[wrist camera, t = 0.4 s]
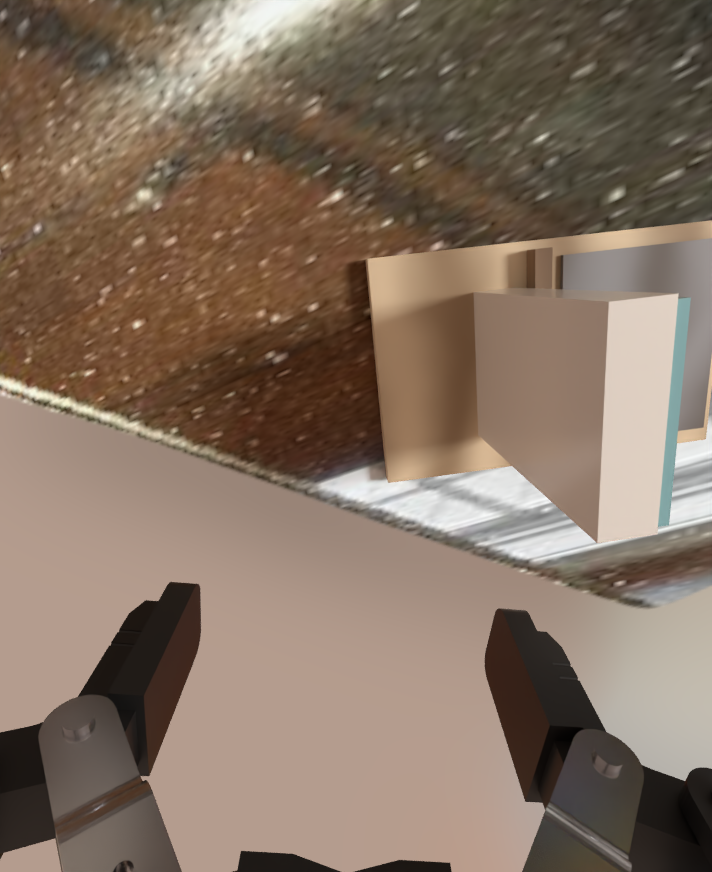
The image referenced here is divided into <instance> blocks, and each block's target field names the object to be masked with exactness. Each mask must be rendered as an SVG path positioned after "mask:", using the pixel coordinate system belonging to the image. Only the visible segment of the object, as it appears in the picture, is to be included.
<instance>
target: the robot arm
mask: <svg viewBox="0 0 712 872" xmlns="http://www.w3.org/2000/svg"><path fill="white" fill-rule="evenodd" d="M200 610H201V608H200V586H199V584H190V583H177V582H170V583H169V584H168V585H167V587H166V589H165V590H164V592H163V594H162V596H161V598H160V600H159V601H147V600H146V601H144V602H143V603H142V604H141V605H139V606H138V607H137V608H136V609H134V610H133V611H132V612H131V613H129V615H128V616H127V618H126V620H125V621H124V623H123V624H122V626H121V628H120V630H119V632H118V633H117V634H116V636H115V638H114V639H113V641H112V642H111V646H109V647H108V649H107V650H106V652H105V654H104V655H103V657H102V658H101V660H100V662H99V663H98V665H97V667H96V668H95V670H94V671H93V673H92V675H91V676H90V678H89V680H88V682H87V683H86V684H85V686H84V688H83V690H82V691H81V693H80V694H79V696H78V697H76V698H74V699H71V700H69V701H67V702H65V703H63V704H61V705H60V706H59V707H57V708H56V709H54V710H53V711H52V712H51V713H50V714H49V715H48V716H47V718H46V719H45V720H44V722H42V723H40V724H37V725H33V726H29V727H25V728H20V729H15V730H10V731H5V732H1V733H0V859H1V857H2V855H3V853H4V852H8V851H12V850H15V849H19V848H22V847H26V846H29V845H33V844H36V843H40V842H44V841H47V840H51V839H54V838H55V839H56V844H57V849H58V855H59V860H60V865H61V871H62V872H182V871H181V868H180V866H179V863H178V860H177V857H176V855H175V852H174V849H173V846H172V844H171V841H170V838H169V836H168V833H167V830H166V827H165V825H164V822H163V819H162V817H161V814H160V811H159V808H158V805H157V803H156V800H155V797H154V795H153V792H152V790H151V787H150V785H149V783H148V782H147V781H146V780H145V781H142V779H141V777H140V776H149V775H150V773H151V770H152V768H153V765H154V762H155V760H156V757H157V755H158V752H159V750H160V747H161V744H162V742H163V739H164V737H165V734H166V732H167V729H168V726H169V724H170V721H171V719H172V716H173V714H174V711H175V708H176V706H177V703H178V701H179V698H180V696H181V693H182V690H183V688H184V685H185V683H186V680H187V678H188V675H189V672H190V670H191V667H192V665H193V662H194V659H195V657H196V654H197V651H198V646H199V641H200V633H201V611H200ZM485 671H486V677H487V680H488V683H489V687H490V690H491V693H492V696H493V699H494V703H495V706H496V709H497V712H498V715H499V718H500V722H501V725H502V728H503V731H504V735H505V738H506V741H507V744H508V747H509V751H510V754H511V757H512V760H513V763H514V767H515V770H516V773H517V776H518V779H519V783H520V786H521V789H522V792H523V795H524V799H525V801H526V802H541V803H543V805H544V808H545V813H544V816H543V819H542V821H541V824H540V826H539V829H538V832H537V835H536V837H535V839H534V842H533V845H532V847H531V850H530V853H529V855H528V858H527V861H526V863H525V866H524V868H523V871H522V872H712V769H709V768H696V769H694V770H692V771H691V772H690V773H689V775H688V777H687V779H686V781H683V780H680V779H677V778H675V777H672V776H669V775H666V774H663V773H661V772H658V771H655V770H652V769H650V768H647V767H645V766H643V765H641V763H640V761H639V759H638V758H637V756H636V755H635V754H634V752H633V751H632V750H631V749H630V748H629V747H628V746H627V745H626V744H625V743H623V742H622V741H621V740H619V739H618V738H616V737H615V736H613V735H611V734H609V733H607V732H606V731H605V728H604V727H603V725H602V723H601V721H600V719H599V717H598V715H597V714H596V711H595V709H594V708H593V706H592V704H591V702H590V700H589V698H588V696H587V694H586V692H585V690H584V688H583V687H582V685H581V683H580V681H578V677H577V675H576V673H575V671H574V670H573V668H572V667H571V666H570V662H569V660H568V658H567V656H566V654H565V652H564V650H563V649H562V647H561V646H560V645H559V644H558V643H557V642H556V641H555V640H554V639H553V638H552V637H551V636H550V635H549V634H548V633H547V632H540V631H537V630H536V628H535V626H534V623H533V621H532V620H531V617H530V615H529V613H528V612H527V611H524V610H512V609H497V610H496V612H495V616H494V620H493V624H492V628H491V632H490V636H489V640H488V644H487V648H486V653H485ZM233 872H340V871H337V870H335V869H332V868H329V867H327V866H324V865H321V864H319V863H316V862H313V861H310V860H308V859H305V858H302V857H300V856H297V855H294V854H285V853H267V852H250V851H241V854H240V860H239V865H238V870H237V871H233ZM355 872H451V867H450V863H442V862H424V861H407V860H398V861H394V862H390V863H386V864H382V865H378V866H375V867H371V868H367V869H363V870H360V871H355Z"/></svg>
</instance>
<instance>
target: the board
mask: <svg viewBox="0 0 712 872" xmlns="http://www.w3.org/2000/svg"><path fill="white" fill-rule="evenodd" d="M366 271H367V281H368V292H369V302H370V312H371V323H372V333H373V344H374V354H375V365H376V375H377V385H378V396H379V406H380V417H381V427H382V438H383V448H384V458H385V469H386V478H387V480H388V483H391V482H398V481H405V480H413V479H420V478H427V477H435V476H442V475H449V474H456V473H464V472H471V471H478V470H486V469H493V468H500V467H507V466H512V465H511V464H510V463H508V462H507V461H506V460H505V459H504V458H503V457H502V456H501V455H500V454H498V453H497V452H496V451H495V450H494V449H493V448H492V447H491V446H490V445H489V444H487V443H486V442H485V441H484V440H483V439H482V438H481V437H480V436H479V435H478V413H477V383H476V353H475V323H474V293H473V292H479V291H488V290H497V289H505V288H537V289H566V290H594V291H623V292H651V293H679V295H678V297H691V301H690V312H689V322H688V332H687V343H686V353H685V363H684V374H683V384H682V394H681V405H680V415H679V425H678V436H677V443H682V442H690V441H697V440H704V439H706V432H707V423H708V414H709V406H710V397H711V388H712V221H703V222H694V223H685V224H676V225H667V226H658V227H649V228H640V229H631V230H622V231H613V232H604V233H595V234H586V235H577V236H568V237H559V238H550V239H541V240H532V241H523V242H514V243H505V244H496V245H487V246H478V247H469V248H460V249H451V250H443V251H434V252H425V253H416V254H407V255H398V256H389V257H380V258H371V259H366Z"/></svg>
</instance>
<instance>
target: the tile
mask: <svg viewBox="0 0 712 872" xmlns="http://www.w3.org/2000/svg"><path fill="white" fill-rule="evenodd" d="M473 293H474V323H475V353H476V383H477V413H478V435H479V436H480V437H481V438H482V439H483V440H484V441H485V442H486V443H487V444H489V445H490V446H491V447H492V448H493V449H494V450H495V451H496V452H497V453H498V454H500V455H501V456H502V457H503V458H504V459H505V460H506V461H507V462H508V463H510V464H511V465H512V466H513V467H514V468H515V469H516V470H517V471H518V472H519V473H521V474H522V475H523V476H524V477H525V478H526V479H527V480H528V481H529V482H530V483H532V484H533V485H534V486H535V487H536V488H537V489H538V490H539V491H540V492H542V493H543V494H544V495H545V496H546V497H547V498H548V499H549V500H550V501H551V502H553V503H554V504H555V505H556V506H557V507H558V508H559V509H560V510H561V511H563V512H564V513H565V514H566V515H567V516H568V517H569V518H570V519H571V520H572V521H574V522H575V523H576V524H577V525H578V526H579V527H580V528H581V529H582V530H583V531H585V532H586V533H587V534H588V535H589V536H590V537H591V538H592V539H593V540H595V541H596V542H597V543H602V542H608V541H615V540H622V539H629V538H635V537H642V536H649V535H656V534H657V531H658V527H659V526H666V525H669V519H670V508H671V498H672V488H673V477H674V467H675V457H676V446H677V436H678V425H679V415H680V405H681V394H682V384H683V374H684V363H685V353H686V343H687V332H688V322H689V312H690V301H691V297H678V295H679V293H651V292H623V291H594V290H566V289H537V288H505V289H497V290H488V291H479V292H473Z"/></svg>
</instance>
